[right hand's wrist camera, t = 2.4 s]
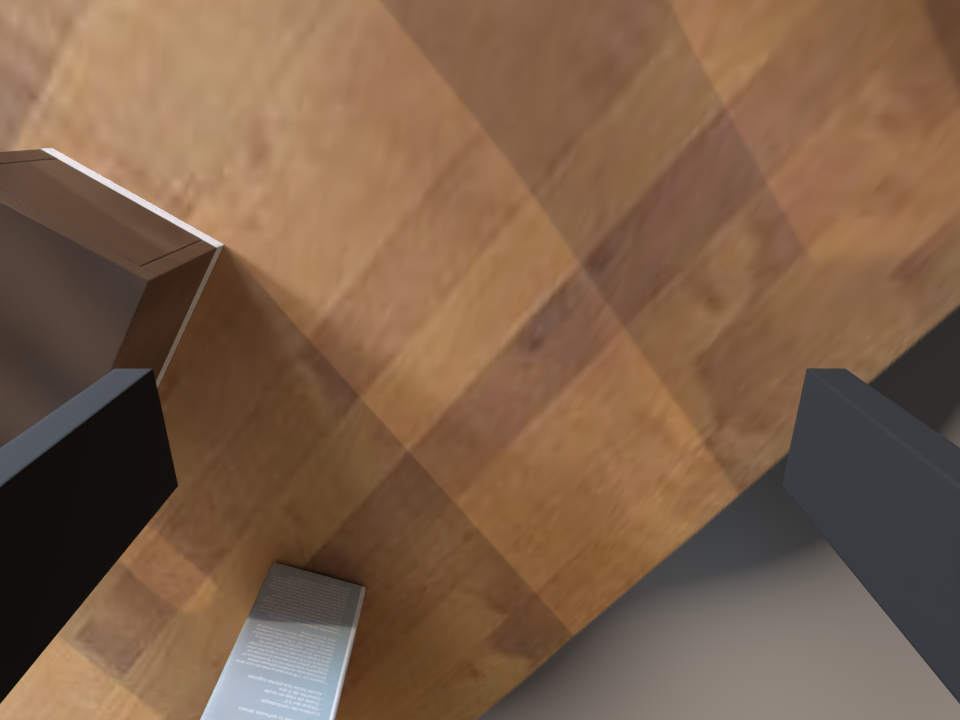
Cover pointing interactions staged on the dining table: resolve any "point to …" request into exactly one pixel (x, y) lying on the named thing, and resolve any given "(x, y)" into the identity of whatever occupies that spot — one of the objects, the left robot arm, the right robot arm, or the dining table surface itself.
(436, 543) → the dining table surface
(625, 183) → the dining table surface
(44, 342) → the cabinet
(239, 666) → the hard drive box
